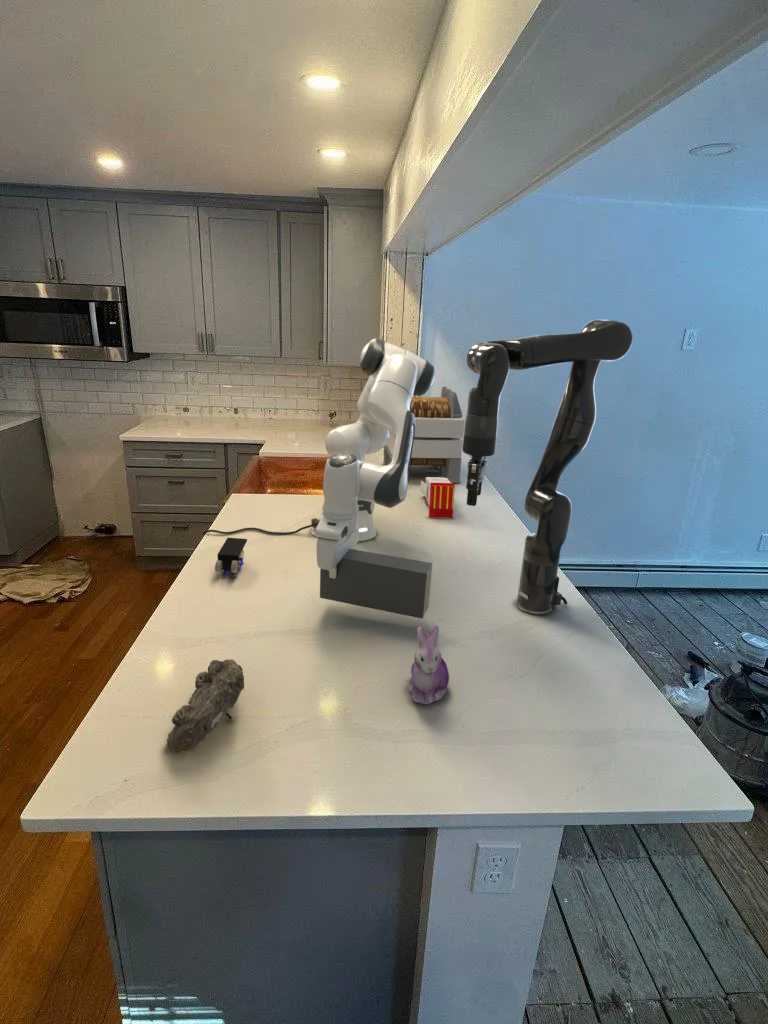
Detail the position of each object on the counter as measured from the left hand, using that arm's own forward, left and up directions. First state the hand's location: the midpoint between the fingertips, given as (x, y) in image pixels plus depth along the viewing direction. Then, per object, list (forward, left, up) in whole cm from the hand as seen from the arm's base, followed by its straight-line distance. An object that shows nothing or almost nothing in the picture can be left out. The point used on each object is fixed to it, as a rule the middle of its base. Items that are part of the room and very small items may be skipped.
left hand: (338, 570), depth 144 cm
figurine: (+29, -25, -12) cm, 40 cm away
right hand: (+31, +8, +21) cm, 38 cm away
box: (+10, 0, -7) cm, 12 cm away
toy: (+8, +92, -12) cm, 93 cm away
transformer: (-9, +138, -12) cm, 139 cm away
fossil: (-9, -46, -12) cm, 48 cm away
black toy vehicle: (-38, +12, -12) cm, 41 cm away
